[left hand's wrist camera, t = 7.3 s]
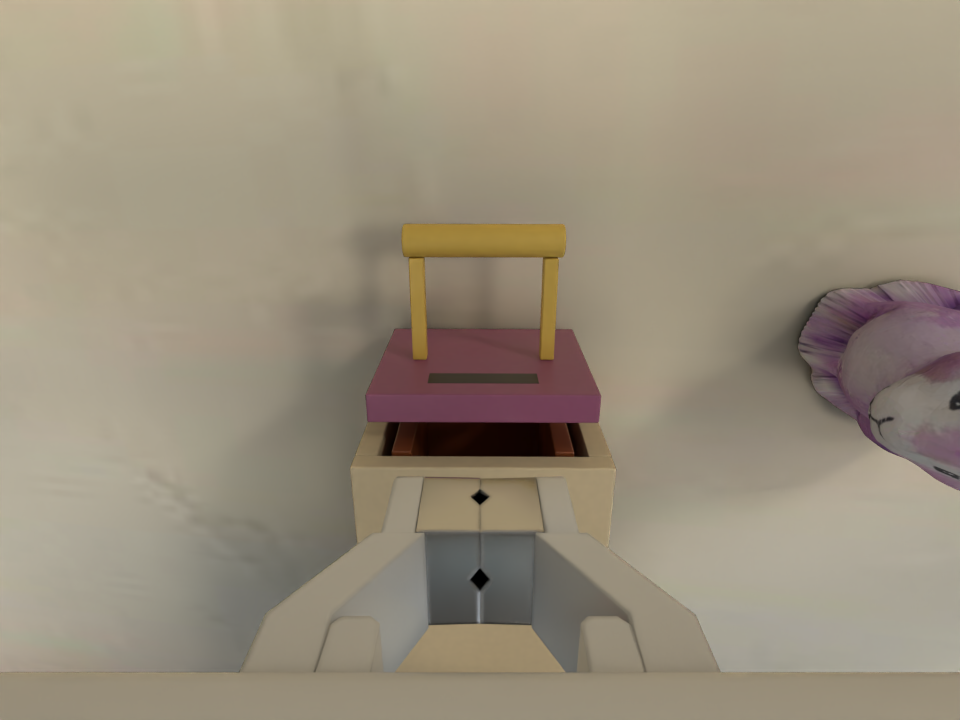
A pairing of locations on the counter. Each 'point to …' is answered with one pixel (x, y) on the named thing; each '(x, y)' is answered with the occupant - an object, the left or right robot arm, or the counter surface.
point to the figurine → (893, 368)
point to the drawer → (483, 361)
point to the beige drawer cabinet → (583, 473)
